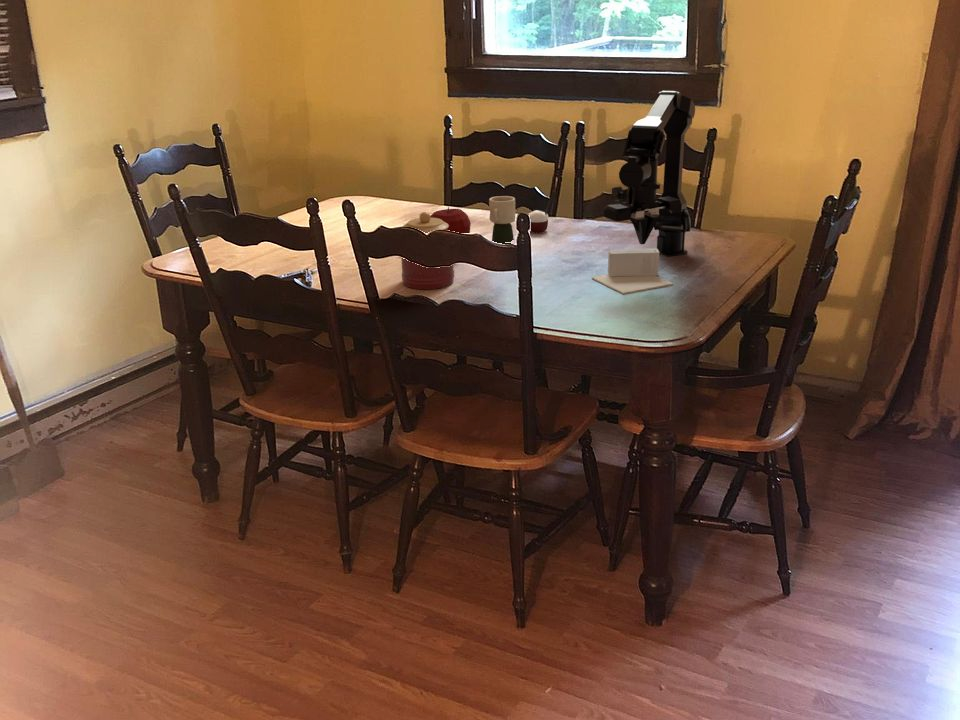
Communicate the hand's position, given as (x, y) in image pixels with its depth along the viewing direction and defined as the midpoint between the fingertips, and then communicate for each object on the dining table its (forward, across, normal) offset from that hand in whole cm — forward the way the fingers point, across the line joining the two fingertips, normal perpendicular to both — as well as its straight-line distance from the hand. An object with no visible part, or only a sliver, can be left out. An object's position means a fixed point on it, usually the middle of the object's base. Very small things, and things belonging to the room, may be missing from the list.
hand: (642, 244), depth 224 cm
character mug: (+9, +14, -46) cm, 49 cm away
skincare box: (+6, -6, -1) cm, 9 cm away
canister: (+9, +46, -25) cm, 53 cm away
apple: (+9, +32, -44) cm, 55 cm away
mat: (+9, +3, 0) cm, 9 cm away
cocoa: (+9, 0, -53) cm, 54 cm away
